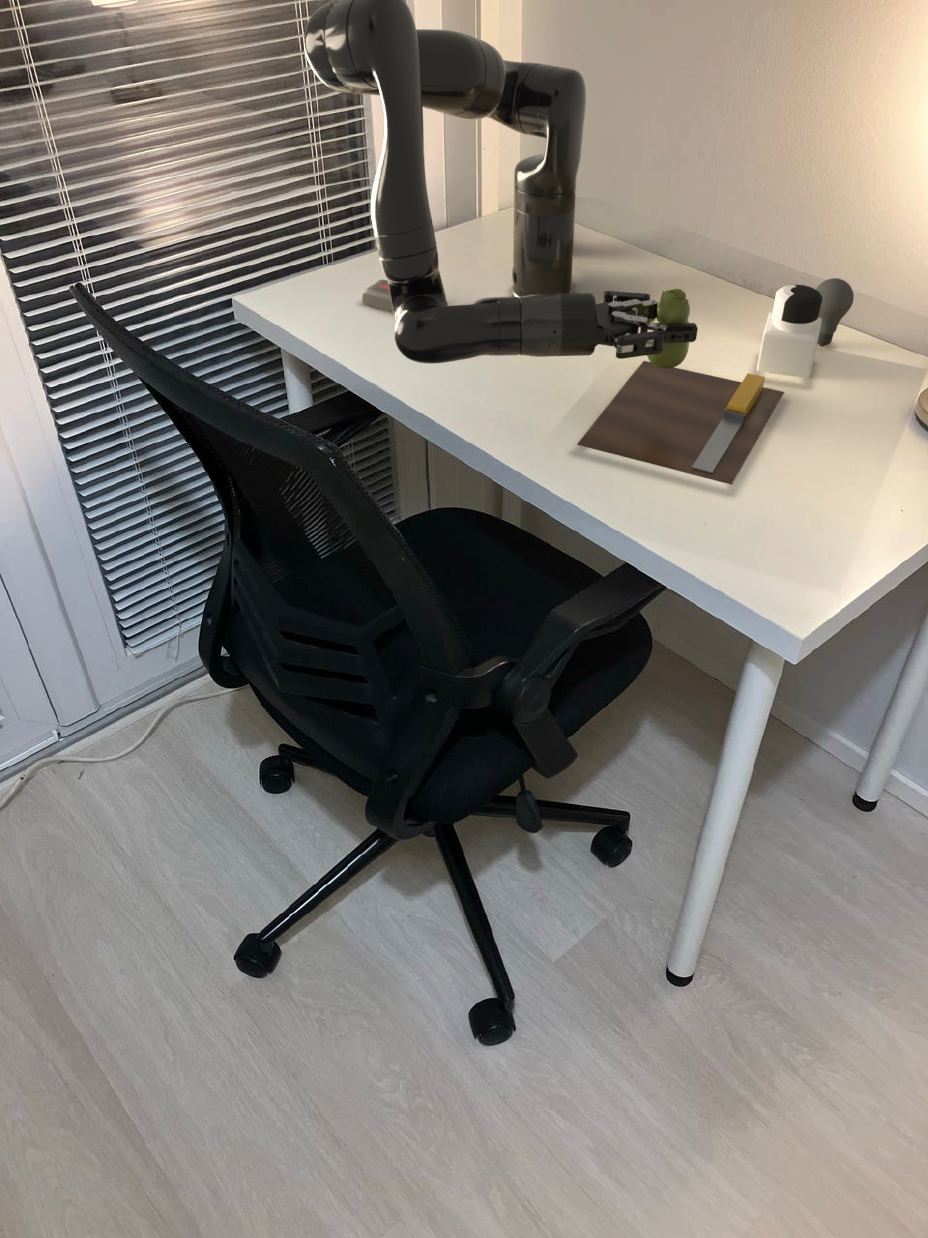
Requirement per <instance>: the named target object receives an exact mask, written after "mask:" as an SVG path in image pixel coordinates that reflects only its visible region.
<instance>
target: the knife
mask: <svg viewBox="0 0 928 1238" xmlns="http://www.w3.org/2000/svg"><path fill="white" fill-rule="evenodd" d="M765 380H766V377H765V376H763V375H758V374H754V373H749V372H748V373H746V376H744V378H743V380H742V381H741V382H742V383H741V385H740V386H739V388H738V389H737V391H736V392H735V394H734V395H733V397H732V399H731V400H730V402H729V403H728V406H727V408H725V410H724V413H723V419H722V420H721V422H720V423H719V425H718V427H717V428H716V430H715V431H714V433H713V434H712V436H711V438H710V439H709V441H708V442H707V444H706V445H705V447H704V449H703V450H702V452H701V453H700V455H699V456H698V458H697V460H696V461H695V463H694V464H693V466H692V469H694V470H698V471H702V472H705V473H709V474H712V473H713V472H714V470H715V468H716V467H717V465H718V464H719V462H720V460H721V459H722V457H723V455H724V454H725V452H726V450H727V449H728V447H729V445H730V444H731V442H732V440H733V439H734V437H735V435H736V434H737V432H738V430H739V429H740V427H741V426H742V424H743V423H744V422H745V420H746V416H747V414H748V412H749V411H750V409H751V408H752V406H753V404H754V403H755V401H756V399H757V398H758V396H759V394H760V393H761V391H762V389H763V387H765V386H764V385H765Z"/></svg>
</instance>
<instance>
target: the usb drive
mask: <svg viewBox="0 0 928 1238" xmlns="http://www.w3.org/2000/svg"><path fill="white" fill-rule="evenodd" d="M361 299H362V305H363V306H367V307H371V308H375V309H379V310H381V311H386V312H388V313H393V308H392V302H391V297H390V291H389V285H388V280H387V279H379V280H378V281H376V282H374V283H373V284H371V285H370V286H369V287H367V288H365V289H364V291H363V292H362V297H361Z"/></svg>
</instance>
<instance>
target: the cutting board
mask: <svg viewBox="0 0 928 1238" xmlns="http://www.w3.org/2000/svg"><path fill="white" fill-rule="evenodd" d="M741 383H742V381H738V380H733V379H732V380H731V379H728V378H724V377H719V376H715V375H710V374H705V373H702V372H697V371H692V370H688V369H684V368H679V367H674V368H669V369H664V368H659V367H657V366H655V365H653V364H652V363H651V362H650V361H648V360H643V361H642V362H641V363H640V365H639V366H638V367H637V369H636V370H635V371H634V372H633V373H632V374H631V376H630V377H629V378H628V379H627V381H626V382H625V383H624V385H623V386H622V387H621V389H619V391H618V392H617V393H616V395H615V396H614V397H613V399H612V400H611V401H610V402H609V403H608V405H607V406H606V407H605V409H604V410H603V411H602V412H601V413H600V414H599V416H598V417H597V418H596V419H595V421H594V422H593V423H592V425H591V426H590V427H589V428H588V430H587V431H586V432H585V434H583V436H582V437H581V438H580V440H578V442H577V443H576V445H577V446H581V447H584V448H588V449H592V450H596V451H600V452H604V453H606V454H607V453H608V454H611V455H614V456H615V455H616V456H618V457H623V458H627V459H631V460H634V461H639V462H643V463H646V464H650V465H654V466H658V467H662V468H666V469H670V470H674V471H678V472H681V473H685V474H689V475H692V476H697V477H701V478H705V479H708V480H712V481H716V482H721V483H723V484H727V485H733V483H734V481H735V479H736V477H737V476H738V474H739V472H740V470H741V468H742V467H743V465H744V463H745V462H746V460H747V459H748V456H749V454H751V451H752V449H753V448H754V446H755V444H756V443H757V441H758V439H759V438H760V436H761V434H762V432H763V431H764V428H765V427H766V425H767V423H768V422H769V420H770V418H771V416H772V415H773V413H774V411H775V409H776V408H777V406H778V405H779V402H780V401H781V399H782V398H783V395H785V391H783V390H778V389H773V388H768V387H765V386H763V389H762V391H761V393H760V394H759V396H758V398H757V399H756V401H755V403H754V404H753V406H752V408H751V409H750V411H749V412H748V414H747V416H746V420H745V422H744V423H743V424H742V426H741V427H740V429H739V430H738V432H737V434H736V435H735V437H734V439H733V440H732V442H731V444H730V445H729V447H728V449H727V450H726V452H725V454H724V455H723V457H722V459H721V460H720V462H719V464H718V465H717V467H716V468H715V470H714V472H713V473H712V474H709V473H705V472H702V471H698V470H694V469H692V466H693V464H694V463H695V461H696V460H697V458H698V456H699V455H700V453H701V452H702V450H703V449H704V447H705V445H706V444H707V442H708V441H709V439H710V438H711V436H712V434H713V433H714V431H715V430H716V428H717V427H718V425H719V423H720V422H721V420H722V419H723V413H724V410H725V408H727V406H728V403H729V402H730V400H731V399H732V397H733V395H734V394H735V392H736V391H737V389H738V388H739V386H740V385H741Z"/></svg>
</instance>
